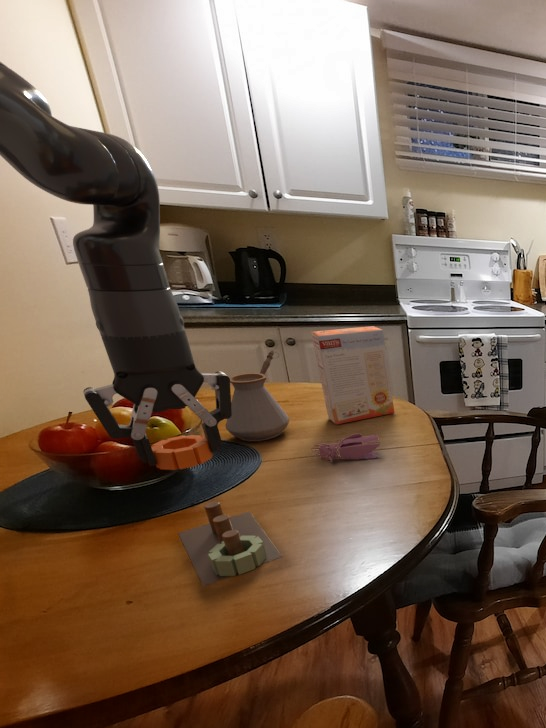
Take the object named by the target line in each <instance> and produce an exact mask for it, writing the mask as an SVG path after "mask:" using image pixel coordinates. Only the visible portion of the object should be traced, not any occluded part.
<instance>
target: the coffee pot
mask: <svg viewBox="0 0 546 728" xmlns="http://www.w3.org/2000/svg"><path fill="white" fill-rule="evenodd" d="M274 353H275V354H277V355H278V356H276V357H275V356H274ZM278 358H280V353H278V352H277V351H274V350H270V351H269V352H267V355H266V359H265V360H264V361H263V363H262V366H261V369H260V371H259V373H241V374H236V375H232V376H231V377H229V378H230V384H232V387H233V388H234V390H233V394H232V397H231V410H232V416H231V417H230V418H229V419H226V423H225V430H226V431H227V432H229V434H230V435H232V436H234V437H236V438H239V439H240V440H242V441H245V442H261V441H266V440H267V441H268V440H272V439H274V438H276V437H279V436H280V435H282V433H283V431H284V430H285V429H287V427H288V426H289V423H290V417H289V415H288V414H287V412H285V410H284V408H283V407H282V406H281V405H280V404H279V402H278V401H277V400H276V398H274V396H273V395H272V394H271V392H270V391H269V390H268V389H267V388H266V387H265V382H266V381H267V376H266V373H267V372H268V369H269V367H270V366H271V361H272V360H274V359H278Z"/></svg>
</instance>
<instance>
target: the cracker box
mask: <svg viewBox="0 0 546 728" xmlns="http://www.w3.org/2000/svg"><path fill="white" fill-rule="evenodd" d="M310 333H311V339H312V343H313V348H314V353H315V359H316V362H317V364H316V365H317V368H318V374H319V379H320V382H321V388H322V391H323V392H322V393H323V397H324V402H325V407H326V412H327V416H328V419H329V420H330V421H331V422H332V423H333V424H334V425H336V426H337V425H342V424H346V423H352V422H356V421H360V420H365V419H370V418H376V417H381V416H385V415H391V414H395V405H394V400H393V399H394V398H393V392H392V386H391V378H390V371H389V362H388V356H387V350H386V343H385V336H384V335H385V334H384V330H383V329H381V328H379V327H377V326H374V325H371V326H360V327H350V328H348V327H347V328H338V329H326V330H318V331H316V330H315V331H311V332H310Z"/></svg>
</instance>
